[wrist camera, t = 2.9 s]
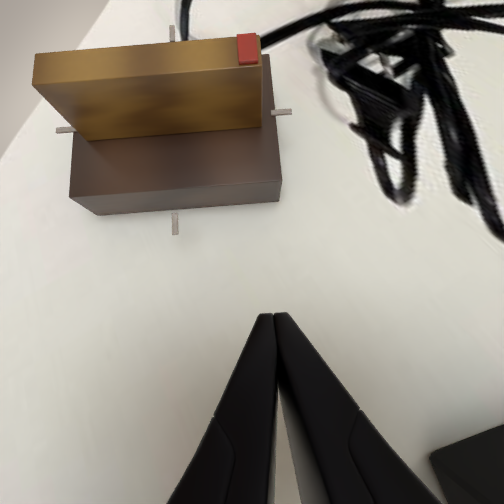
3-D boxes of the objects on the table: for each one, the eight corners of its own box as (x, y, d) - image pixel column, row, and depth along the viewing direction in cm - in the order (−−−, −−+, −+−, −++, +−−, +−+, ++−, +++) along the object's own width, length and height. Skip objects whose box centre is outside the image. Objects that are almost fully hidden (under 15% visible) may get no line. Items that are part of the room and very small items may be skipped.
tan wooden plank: (86, 141, 20) (27, 81, 15) (87, 115, 21) (31, 49, 16) (261, 127, 20) (262, 61, 15) (259, 101, 21) (259, 30, 15)
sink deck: (80, 256, 22) (46, 244, 19) (91, 73, 26) (64, 34, 22) (297, 239, 22) (304, 224, 18) (277, 58, 26) (280, 15, 22)
